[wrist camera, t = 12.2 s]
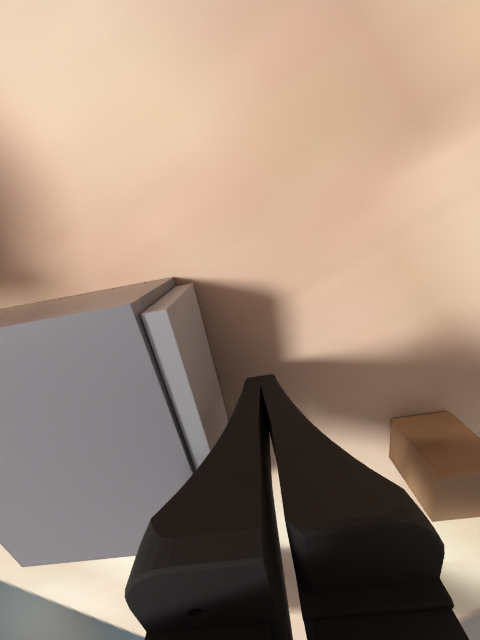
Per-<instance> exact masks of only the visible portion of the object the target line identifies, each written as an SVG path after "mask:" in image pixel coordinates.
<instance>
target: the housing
mask: <svg viewBox="0 0 480 640" xmlns="http://www.w3.org/2000/svg"><path fill="white" fill-rule="evenodd" d="M174 287H176V284H175V281H174V277H171V278H166V279H160V280H155V281H150V282H144V283H139V284H134V285H128V286H123V287H118V288H112V289H107V290H101V291H96V292H91V293H85V294H80V295H75V296H69V297H64V298H58V299H53V300H48V301H42V302H37V303H32V304H26V305H21V306H15V307H10V308H5V309H0V544H1V545H2V546H3V547H4V548H5V549H6V550H7V551H8V552H9V553H10V554H11V556H12V557H13V558H14V559H15V560H16V561H17V562H18V563H19V564H20V565H21V566H22V567H28V566H38V565H48V564H58V563H68V562H78V561H88V560H98V559H107V558H117V557H127V556H136V555H137V552H138V549H139V546H140V543H141V541H142V538H143V536H144V534H145V531H146V529H147V527H148V524H149V522H150V519H151V518H152V517H153V516H154V515H155V514H156V513H157V512H158V511H159V510H160V509H161V508H162V507H163V506H164V505H165V504H166V503H167V502H168V501H169V500H170V499H171V498H172V497H173V496H174V495H175V494H176V493H177V492H178V491H179V489H180V488H181V487H182V486H183V485H184V484H185V483H186V481H187V480H188V479H189V478H190V477H191V475H192V474H193V473H194V472H195V471H196V469H195V466H194V464H193V461H192V458H191V455H190V452H189V450H188V447H187V444H186V441H185V438H184V436H183V433H182V430H181V427H180V424H179V422H178V419H177V416H176V413H175V410H174V407H173V405H172V402H171V399H170V396H169V393H168V391H167V388H166V385H165V382H164V379H163V377H162V374H161V371H160V368H159V365H158V363H157V360H156V357H155V354H154V351H153V348H152V346H151V343H150V340H149V337H148V334H147V332H146V329H145V326H144V323H143V320H142V318H141V315H140V314H141V313H142V312H144V311H145V310H146V309H148V308H149V307H150V306H151V305H153V304H154V303H155V302H157V301H158V300H159V299H160V298H162V297H163V296H164V295H165V294H167V293H168V292H169V291H171V290H172V289H173V288H174Z"/></svg>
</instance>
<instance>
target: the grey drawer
mask: <svg viewBox="0 0 480 640" xmlns="http://www.w3.org/2000/svg"><path fill="white" fill-rule="evenodd" d="M140 315H141V318H142V320H143V323H144V326H145V329H146V332H147V334H148V337H149V340H150V343H151V346H152V348H153V351H154V354H155V357H156V360H157V363H158V365H159V368H160V371H161V374H162V377H163V379H164V382H165V385H166V388H167V391H168V393H169V396H170V399H171V402H172V405H173V407H174V410H175V413H176V416H177V419H178V422H179V424H180V427H181V430H182V433H183V436H184V438H185V441H186V444H187V447H188V450H189V452H190V455H191V458H192V461H193V464H194V466H195V469H196V470H197V468H198V467H199V466H200V465H201V463H202V462H203V461H204V459H205V458H206V457H207V455H208V454H209V452H210V451H211V449H212V448H213V447H214V445H215V444H216V442H217V441H218V439H219V437H220V436H221V434H222V433H223V431H224V429H225V427H226V426H227V424H228V422H229V421H228V417H227V414H226V410H225V406H224V402H223V398H222V394H221V390H220V386H219V382H218V378H217V375H216V371H215V367H214V363H213V359H212V355H211V351H210V347H209V343H208V340H207V336H206V332H205V328H204V324H203V320H202V316H201V312H200V308H199V305H198V301H197V297H196V293H195V289H194V285H193V283H190V284H185V285H179V286H176V287H174V288H173V289H172V290H171V291H169V292H168V293H167V294H165V295H164V296H163V297H162V298H160V299H159V300H158V301H157V302H155V303H154V304H153V305H151V306H150V307H149V308H148V309H146V310H145V311H144V312H142V313H141V314H140Z"/></svg>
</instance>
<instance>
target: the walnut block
mask: <svg viewBox="0 0 480 640" xmlns="http://www.w3.org/2000/svg"><path fill="white" fill-rule="evenodd" d="M389 458H390V459H391V461H392V462H393V464H394V465H395V467H396V468H397V470H398V471H399V473H400V474H401V476H402V477H403V479H404V480H405V482H406V483H407V485H408V486H409V488H410V489H411V491H412V492H413V494H414V495H415V497H416V498H417V500H418V501H419V503H420V504H421V506H422V507H423V509H424V510H425V512H426V513H427V515H428V516H429V518H430V519H431V521H432V522H434V521H444V520H453V519H463V518H473V517H480V438H479V437H478V436H477V435H476V434H474V433H473V432H472V431H471V430H470V429H469V428H467V427H466V426H465V425H464V424H463V423H461V422H460V421H459V420H458V419H457V418H456V417H454V416H453V415H452V414H451V413H450V412H449V411H445V412H438V413H430V414H423V415H415V416H408V417H400V418H393V419H392V421H391V436H390V452H389Z"/></svg>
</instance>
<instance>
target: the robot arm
mask: <svg viewBox="0 0 480 640" xmlns="http://www.w3.org/2000/svg"><path fill="white" fill-rule="evenodd" d="M269 432H270V436H271V440H272V444H273V448H274V452H275V457H276V461H277V466H278V473H279V480H280V487H281V494H282V501H283V509H284V516H285V522H286V527H287V533H288V538H289V543H290V548H291V553H292V558H293V563H294V569H295V574H296V580H297V586H298V592H299V599H300V605H301V611H302V617H303V620H304V625H305V631H306V636H307V640H469V639H468V637H467V635H466V633H465V632H464V630H463V628H462V626H461V624H460V623H459V621H458V619H457V617H456V615H455V614H454V612H453V610H452V608H453V607H454V604H453V601H452V599H451V597H450V595H449V594H448V592H447V590H446V588H445V587H444V585H443V583H442V582H441V580H440V573H441V569H442V564H443V559H444V544H443V542H442V540H441V538H440V537H439V535H438V533H437V532H436V530H435V529H434V527H433V526H432V524H431V523H430V521H429V520H428V519H427V517H426V516H425V515H424V513H423V512H422V511H421V510H420V508H419V507H418V506H417V504H416V503H415V502H414V501H413V500H412V498H411V497H410V496H409V495H408V494H407V492H406V491H405V490H404V489H403V488H401V487H400V486H398V485H396V484H395V483H393V482H391V481H390V480H388V479H386V478H385V477H383V476H381V475H380V474H378V473H376V472H375V471H373V470H372V469H370V468H368V467H367V466H366V465H364V464H363V463H361V462H360V461H358V460H357V459H355V458H354V457H352V456H351V455H350V454H349V453H347V452H346V451H345V450H343V449H342V448H341V447H339V446H338V445H337V444H335V443H334V442H333V441H331V440H330V439H329V438H328V437H327V436H326V435H324V434H323V433H322V432H321V431H320V430H319V429H318V428H317V427H315V426H314V425H313V424H312V423H311V422H310V421H309V420H308V419H307V418H306V417H305V416H304V415H303V414H302V413H301V411H300V410H299V409H298V408H297V407H296V406H295V405H294V404H293V402H292V401H291V400H290V399H289V397H288V396H287V395H286V393H285V392H284V391H283V389H282V388H281V386H280V385H279V383H278V381H277V380H276V378H275V376H274V375H273V374H270V375H264V376H257V377H251V378H247V379H246V380H245V383H244V387H243V390H242V393H241V395H240V398H239V400H238V403H237V405H236V407H235V410H234V412H233V414H232V416H231V418H230V420H229V422H228V424H227V426H226V427H225V429H224V431H223V433H222V434H221V436H220V437H219V439H218V441H217V442H216V444H215V445H214V447H213V448H212V449H211V451H210V452H209V454H208V455H207V457H206V458H205V459H204V461H203V462H202V463H201V465H200V466H199V467H198V468H197V470H196V471H195V472H194V473H193V474H192V475H191V477H190V478H189V479H188V480H187V481H186V483H185V484H184V485H183V486H182V487H181V488H180V489H179V491H178V492H177V493H176V494H175V495H174V496H173V497H172V498H171V499H170V500H169V501H168V502H167V503H166V504H165V505H164V506H163V507H162V508H161V509H160V510H159V511H158V512H157V513H156V514H155V515H154V516H153V517H152V518H151V519H150V522H149V524H148V527H147V529H146V531H145V534H144V536H143V538H142V541H141V543H140V546H139V549H138V552H137V555H136V558H135V561H134V564H133V567H132V570H131V573H130V576H129V579H128V582H127V585H126V588H125V599H126V602H127V604H128V606H129V608H130V610H131V611H132V613H133V614H134V615H135V617H136V618H137V620H138V621H139V622H140V624H141V625H142V626H143V628H144V629H145V630H146V637H145V640H293V637H292V630H291V623H290V615H289V608H288V601H287V594H286V587H285V580H284V572H283V565H282V558H281V551H280V543H279V536H278V528H277V521H276V513H275V506H274V498H273V490H272V477H271V457H270V438H269Z"/></svg>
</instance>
